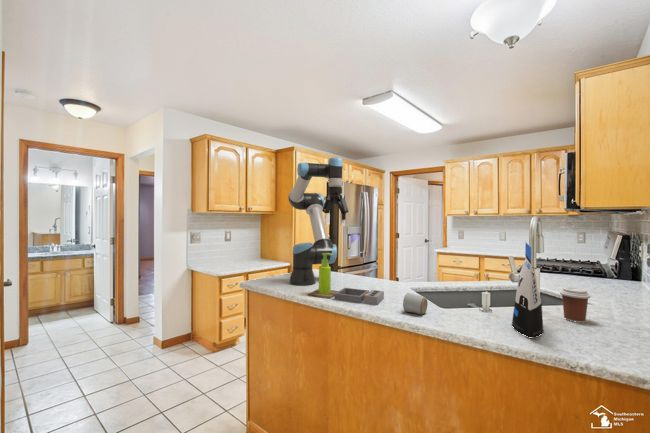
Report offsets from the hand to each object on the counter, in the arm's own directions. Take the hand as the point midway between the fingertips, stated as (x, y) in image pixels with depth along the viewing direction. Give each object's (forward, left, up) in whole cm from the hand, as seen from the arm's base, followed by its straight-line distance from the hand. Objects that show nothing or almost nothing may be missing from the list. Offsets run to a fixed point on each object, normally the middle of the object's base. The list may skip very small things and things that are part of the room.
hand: (334, 225), depth 167 cm
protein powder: (+22, +86, -35) cm, 95 cm away
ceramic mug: (+22, +47, -35) cm, 62 cm away
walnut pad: (+14, +1, -34) cm, 37 cm away
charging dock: (+14, +19, -34) cm, 42 cm away
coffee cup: (+4, +104, -35) cm, 109 cm away
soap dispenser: (+15, +2, -34) cm, 37 cm away
